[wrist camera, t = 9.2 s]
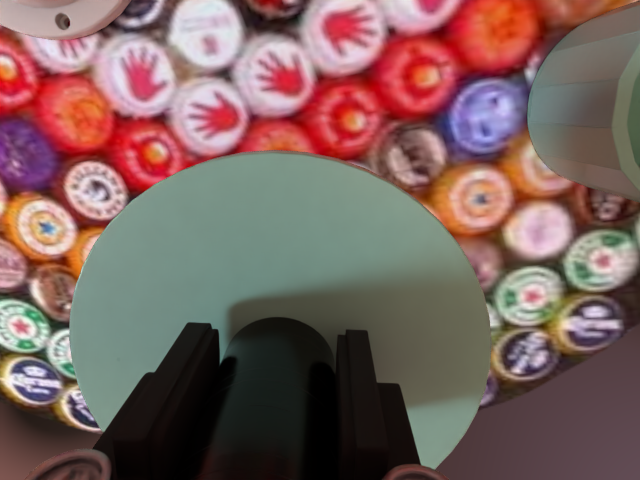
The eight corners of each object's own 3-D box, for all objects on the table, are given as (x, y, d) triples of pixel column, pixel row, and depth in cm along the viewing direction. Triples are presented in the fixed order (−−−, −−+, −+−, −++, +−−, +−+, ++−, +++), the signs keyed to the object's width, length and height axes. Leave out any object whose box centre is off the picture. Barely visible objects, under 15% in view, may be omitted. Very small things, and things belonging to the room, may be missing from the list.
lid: (56, 424, 13) (-188, 709, 7) (151, 75, 10) (-138, 16, 4) (377, 530, 15) (417, 857, 8) (551, 245, 11) (838, 414, 5)
